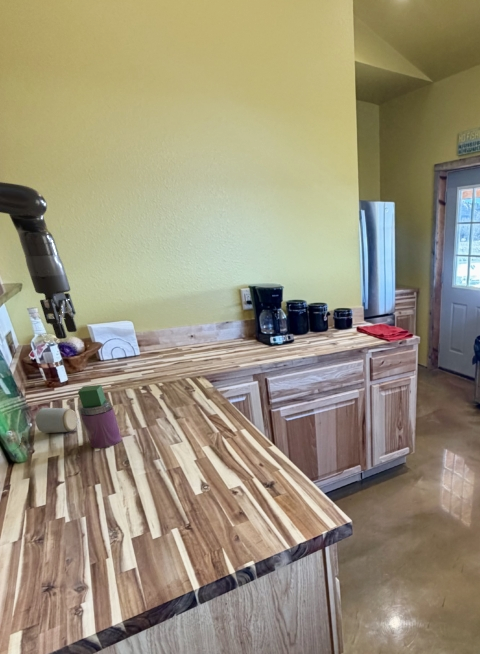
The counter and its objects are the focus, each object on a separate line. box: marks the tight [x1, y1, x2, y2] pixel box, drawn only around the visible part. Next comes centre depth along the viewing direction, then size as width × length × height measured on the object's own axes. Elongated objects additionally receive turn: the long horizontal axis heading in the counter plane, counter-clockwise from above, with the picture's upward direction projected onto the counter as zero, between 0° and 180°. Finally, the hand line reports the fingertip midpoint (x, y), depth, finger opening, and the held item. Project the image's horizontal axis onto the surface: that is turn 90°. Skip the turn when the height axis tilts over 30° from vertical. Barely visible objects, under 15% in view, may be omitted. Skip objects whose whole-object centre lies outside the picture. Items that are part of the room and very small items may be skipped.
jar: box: [79, 406, 123, 449], centre depth 119 cm, size 8×8×12 cm
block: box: [77, 384, 107, 407], centre depth 116 cm, size 4×4×4 cm
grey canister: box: [35, 407, 80, 434], centre depth 128 cm, size 11×8×8 cm
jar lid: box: [78, 398, 113, 415], centre depth 117 cm, size 8×8×2 cm
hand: (67, 335), depth 115 cm, fingers open, 8 cm apart
